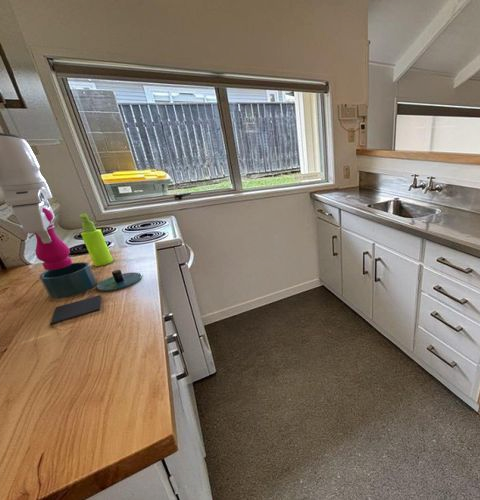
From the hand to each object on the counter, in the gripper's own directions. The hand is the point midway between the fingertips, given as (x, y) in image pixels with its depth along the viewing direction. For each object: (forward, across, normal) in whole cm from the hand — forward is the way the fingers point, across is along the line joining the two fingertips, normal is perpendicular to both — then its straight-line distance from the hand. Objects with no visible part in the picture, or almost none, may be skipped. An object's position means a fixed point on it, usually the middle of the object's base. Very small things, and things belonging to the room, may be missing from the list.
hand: (49, 240), depth 85 cm
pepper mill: (+9, 0, 0) cm, 9 cm away
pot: (+18, 0, 0) cm, 18 cm away
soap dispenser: (+18, -22, +8) cm, 29 cm away
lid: (+17, +5, +12) cm, 22 cm away
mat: (+18, +17, +2) cm, 25 cm away
